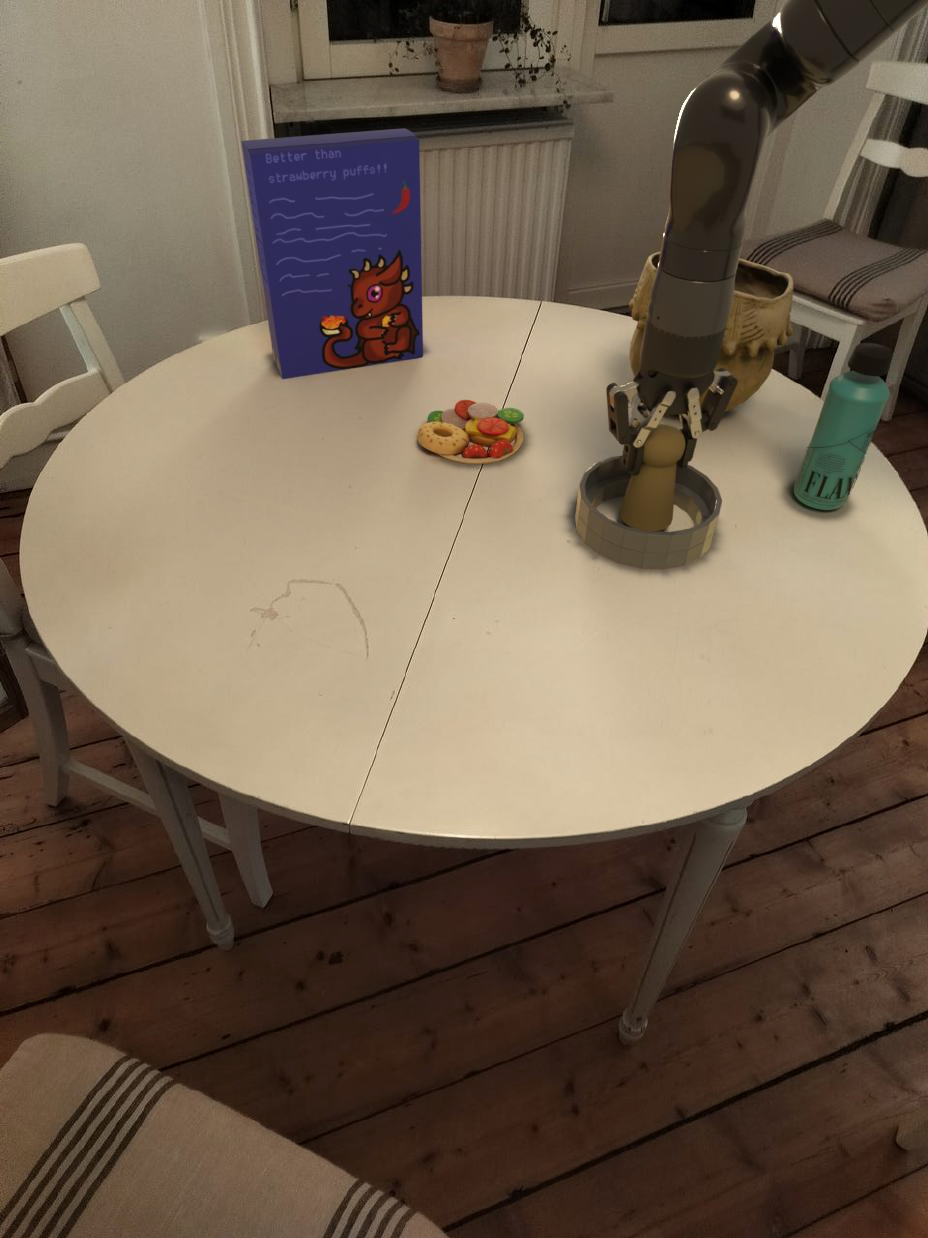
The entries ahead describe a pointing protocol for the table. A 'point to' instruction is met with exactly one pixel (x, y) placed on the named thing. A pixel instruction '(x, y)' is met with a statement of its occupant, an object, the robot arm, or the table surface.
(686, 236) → the robot arm
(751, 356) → the clay pot
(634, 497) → the tan game pawn
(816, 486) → the beverage bottle
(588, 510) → the tiled ring wall
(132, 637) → the table surface
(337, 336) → the cereal box
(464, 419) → the toy food set
